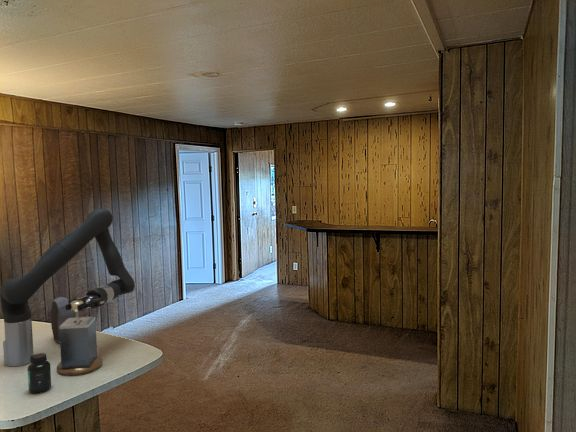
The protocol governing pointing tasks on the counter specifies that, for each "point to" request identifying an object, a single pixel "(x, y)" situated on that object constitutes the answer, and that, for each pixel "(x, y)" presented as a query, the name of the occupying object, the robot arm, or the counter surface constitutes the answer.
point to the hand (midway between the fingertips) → (72, 308)
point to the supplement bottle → (39, 374)
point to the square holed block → (78, 347)
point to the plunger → (74, 309)
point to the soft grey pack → (59, 315)
